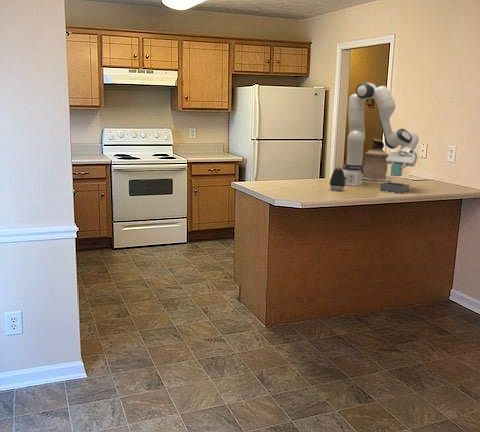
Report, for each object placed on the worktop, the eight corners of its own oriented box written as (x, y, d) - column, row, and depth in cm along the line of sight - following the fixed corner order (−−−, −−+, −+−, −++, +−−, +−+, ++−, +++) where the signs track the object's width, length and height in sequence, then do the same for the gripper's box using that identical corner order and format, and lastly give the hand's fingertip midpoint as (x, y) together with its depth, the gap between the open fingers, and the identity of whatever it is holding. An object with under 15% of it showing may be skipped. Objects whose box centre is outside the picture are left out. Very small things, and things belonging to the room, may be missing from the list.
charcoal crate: (399, 193, 341) (400, 186, 340) (380, 190, 351) (380, 183, 350) (408, 192, 349) (409, 185, 348) (388, 189, 359) (389, 182, 358)
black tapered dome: (332, 191, 339) (334, 168, 336) (326, 188, 349) (328, 166, 346) (347, 191, 341) (349, 168, 338) (341, 189, 351) (343, 166, 348)
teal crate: (397, 176, 344) (398, 164, 342) (390, 175, 347) (391, 163, 346) (401, 175, 348) (402, 163, 346) (394, 174, 351) (395, 163, 350)
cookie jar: (391, 182, 396) (395, 139, 390) (358, 180, 401) (362, 138, 395) (388, 178, 420) (392, 138, 414) (357, 176, 425) (361, 136, 418)
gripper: (389, 149, 356) (380, 164, 351) (417, 151, 342) (409, 167, 337) (392, 155, 360) (383, 170, 355) (420, 158, 346) (411, 173, 341)
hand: (396, 168), depth 346 cm, fingers closed on teal crate, 5 cm apart
